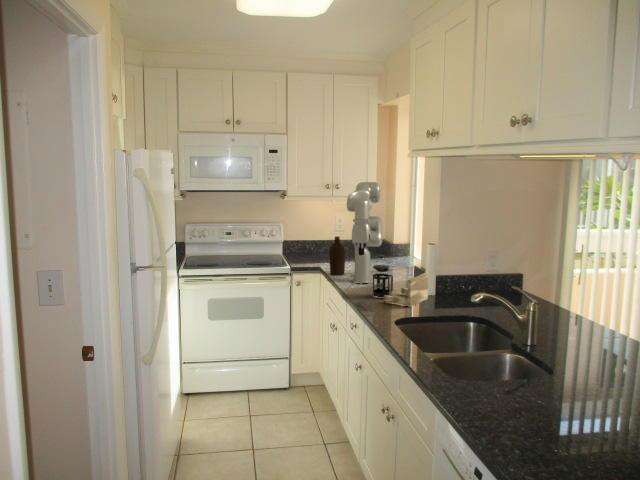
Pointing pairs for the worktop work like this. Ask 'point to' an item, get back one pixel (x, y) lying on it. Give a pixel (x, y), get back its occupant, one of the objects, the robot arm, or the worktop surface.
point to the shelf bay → (412, 291)
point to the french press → (382, 285)
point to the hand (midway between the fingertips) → (361, 254)
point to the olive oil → (337, 258)
